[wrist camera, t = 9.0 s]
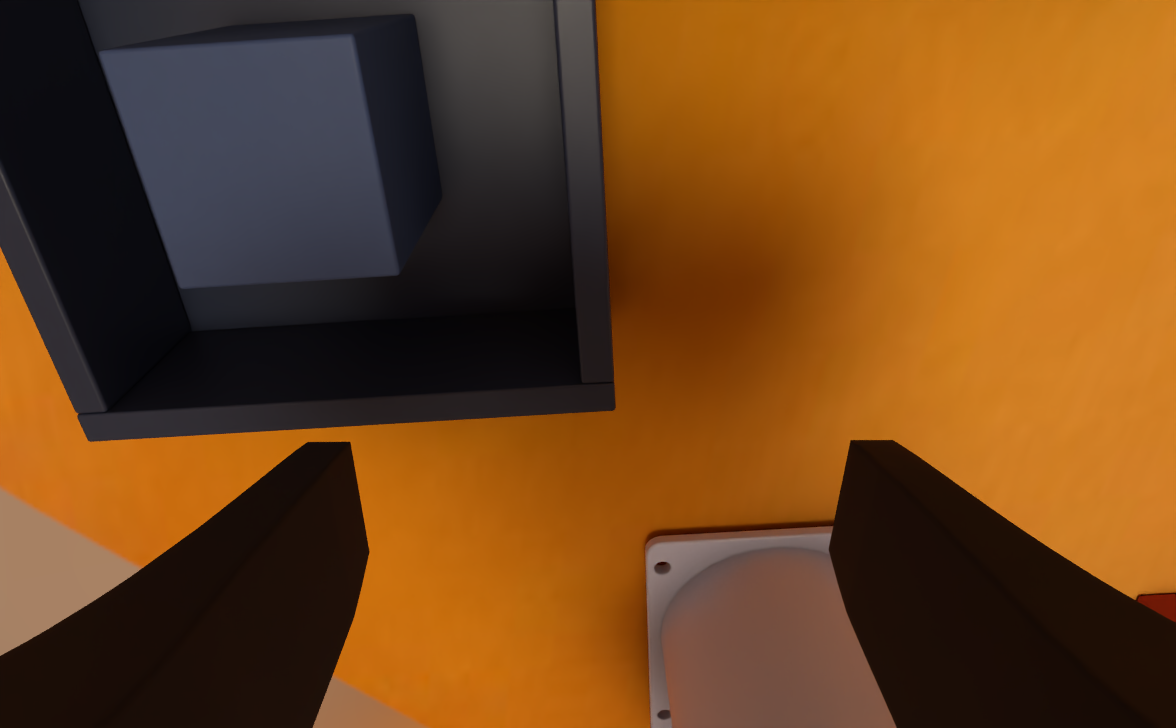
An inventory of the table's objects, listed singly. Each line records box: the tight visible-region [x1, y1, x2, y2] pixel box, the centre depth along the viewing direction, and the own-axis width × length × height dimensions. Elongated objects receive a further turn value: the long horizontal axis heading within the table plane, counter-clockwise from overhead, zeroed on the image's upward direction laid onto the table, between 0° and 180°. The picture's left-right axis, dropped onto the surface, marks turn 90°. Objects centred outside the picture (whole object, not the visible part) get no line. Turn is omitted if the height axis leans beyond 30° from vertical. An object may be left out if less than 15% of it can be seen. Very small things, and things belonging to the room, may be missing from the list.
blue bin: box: [0, 0, 616, 442], centre depth 15 cm, size 11×11×4 cm
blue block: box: [99, 14, 442, 289], centre depth 15 cm, size 4×4×5 cm
